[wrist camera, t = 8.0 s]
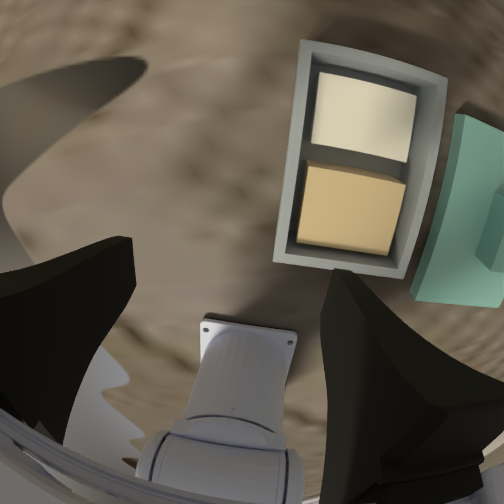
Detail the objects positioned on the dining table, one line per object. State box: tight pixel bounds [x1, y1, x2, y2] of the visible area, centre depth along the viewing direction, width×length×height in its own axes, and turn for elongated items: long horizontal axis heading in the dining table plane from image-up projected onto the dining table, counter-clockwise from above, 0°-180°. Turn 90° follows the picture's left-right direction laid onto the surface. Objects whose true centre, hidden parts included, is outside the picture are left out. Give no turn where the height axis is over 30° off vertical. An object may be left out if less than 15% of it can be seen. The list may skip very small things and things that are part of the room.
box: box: [273, 39, 448, 279], centre depth 16 cm, size 12×8×4 cm, turn 175°
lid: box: [409, 114, 504, 308], centre depth 16 cm, size 14×10×4 cm
